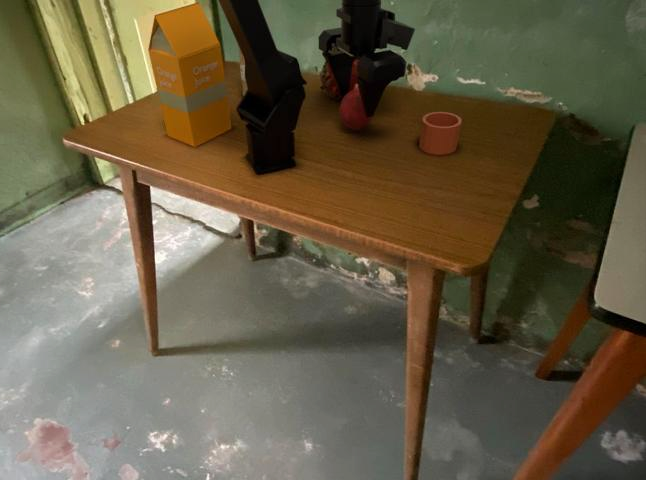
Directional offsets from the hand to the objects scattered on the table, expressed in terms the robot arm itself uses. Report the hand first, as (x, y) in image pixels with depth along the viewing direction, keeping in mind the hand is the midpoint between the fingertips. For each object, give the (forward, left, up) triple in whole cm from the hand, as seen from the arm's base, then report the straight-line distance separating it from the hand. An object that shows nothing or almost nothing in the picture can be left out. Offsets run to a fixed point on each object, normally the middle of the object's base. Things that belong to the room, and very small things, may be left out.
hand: (356, 106), depth 82 cm
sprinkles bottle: (-11, +24, -4) cm, 27 cm away
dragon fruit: (+5, +15, -4) cm, 16 cm away
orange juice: (-25, +12, -4) cm, 28 cm away
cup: (+9, -11, -4) cm, 15 cm away
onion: (0, 0, -4) cm, 5 cm away
